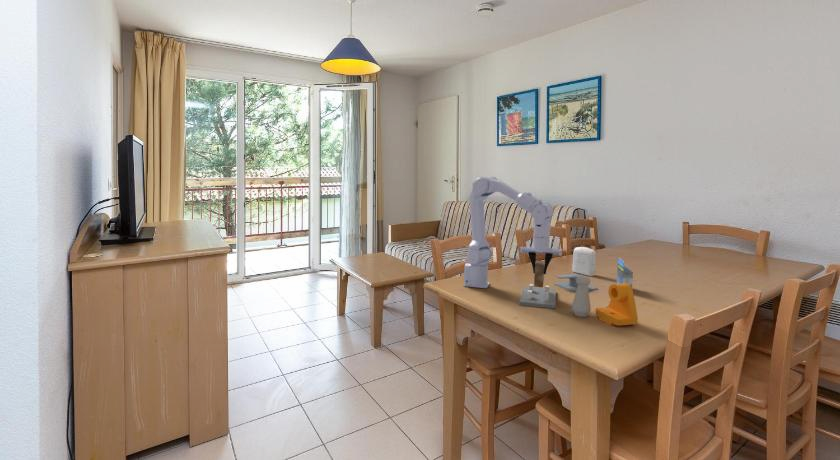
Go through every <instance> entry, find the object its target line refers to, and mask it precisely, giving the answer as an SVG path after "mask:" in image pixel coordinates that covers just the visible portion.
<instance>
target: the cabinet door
mask: <svg viewBox="0 0 840 460" xmlns="http://www.w3.org/2000/svg"><path fill="white" fill-rule="evenodd" d="M544 267H545V260H536V265H535V273H534V278H533V279H534V280H533V281H534V282H533V283H534V284H533V288H544V281H545V274H544Z"/></svg>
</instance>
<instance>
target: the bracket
mask: <svg viewBox="0 0 840 460" xmlns="http://www.w3.org/2000/svg"><path fill="white" fill-rule="evenodd" d="M608 296H609V298H610V301H609V303H608V306H607V307H597V308H595V315H596V316H598V318H599V320H601V321H603V322H605V323H606V324H608V325H610V326H629V325H638V322H639V319H638V318H639V317H638V312H637V306H636V301H635V300H636V299H635V295H634V290H633V286H632V287H631V286H630V285H629V284H627V283H625V284H617V283H612V284H611V285H609V287H608Z"/></svg>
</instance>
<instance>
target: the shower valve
mask: <svg viewBox="0 0 840 460" xmlns="http://www.w3.org/2000/svg"><path fill="white" fill-rule="evenodd" d="M578 276H582V274H580V273H569V274H560V275H556V278H558V279H568V280H567V281H556V282H554V283H553V284H554V285H555V286H558V287H560V288H562V289H564V290H567V291H569V292H572V293H576V290H577V286H578V284H577V283H576V278H577V277H578ZM588 290H589V291H595V290H598V287H597V286H593V285H591V284H589V285H588Z"/></svg>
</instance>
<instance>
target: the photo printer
mask: <svg viewBox="0 0 840 460" xmlns="http://www.w3.org/2000/svg"><path fill="white" fill-rule="evenodd" d="M572 253H573V254H572V255H573V256H572V268H571V271H572V273H575V274H579V275H583V276H587V277H593V276H594V275H595V270H596V257H597V253H596V250H594V249H592V248H589V247H587V246H578V247H574V248H573V252H572Z"/></svg>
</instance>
